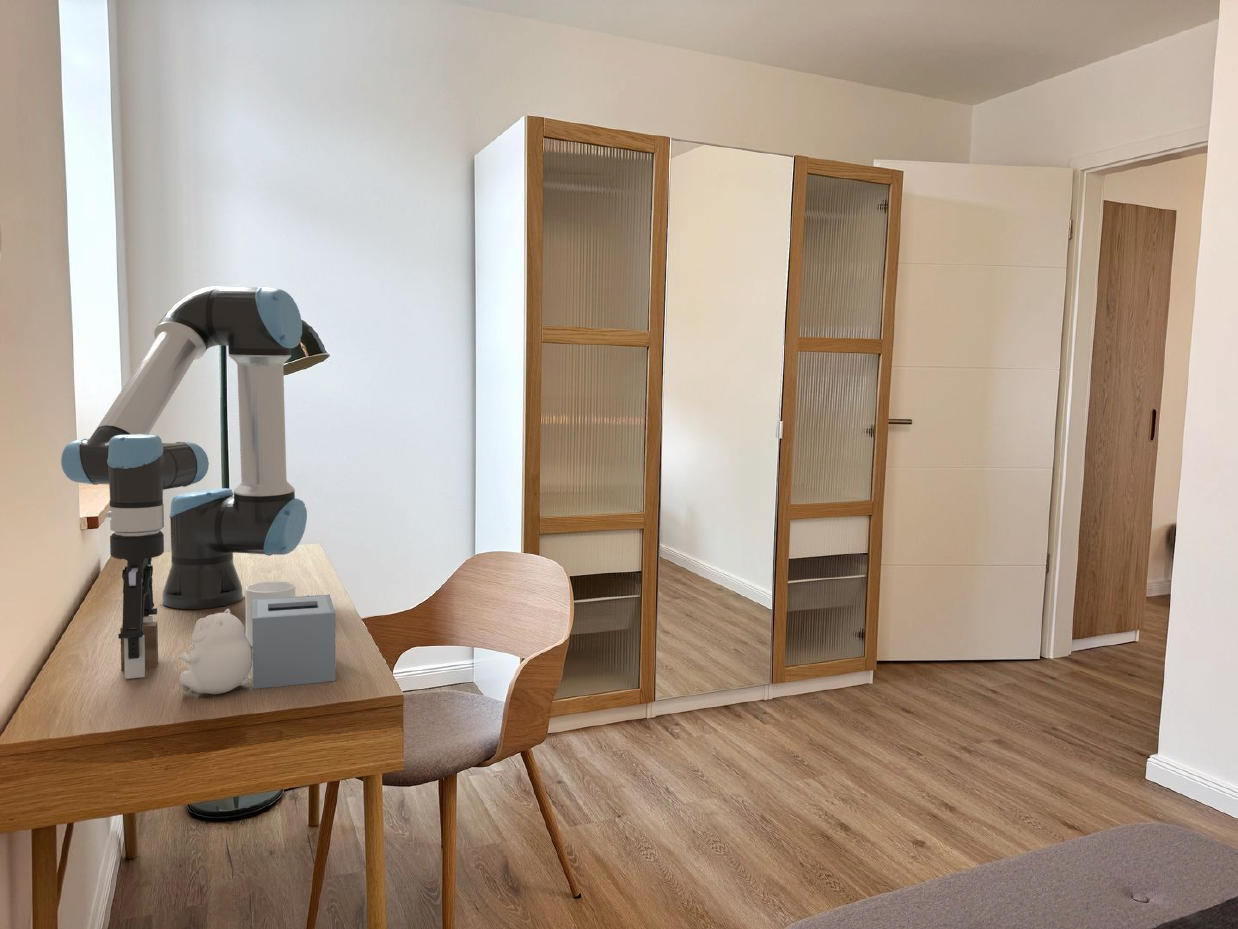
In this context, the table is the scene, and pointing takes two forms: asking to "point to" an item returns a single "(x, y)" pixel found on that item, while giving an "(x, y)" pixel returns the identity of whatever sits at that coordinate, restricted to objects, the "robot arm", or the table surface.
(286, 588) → the cup
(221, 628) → the figurine
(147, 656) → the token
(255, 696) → the table surface
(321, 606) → the coin box
